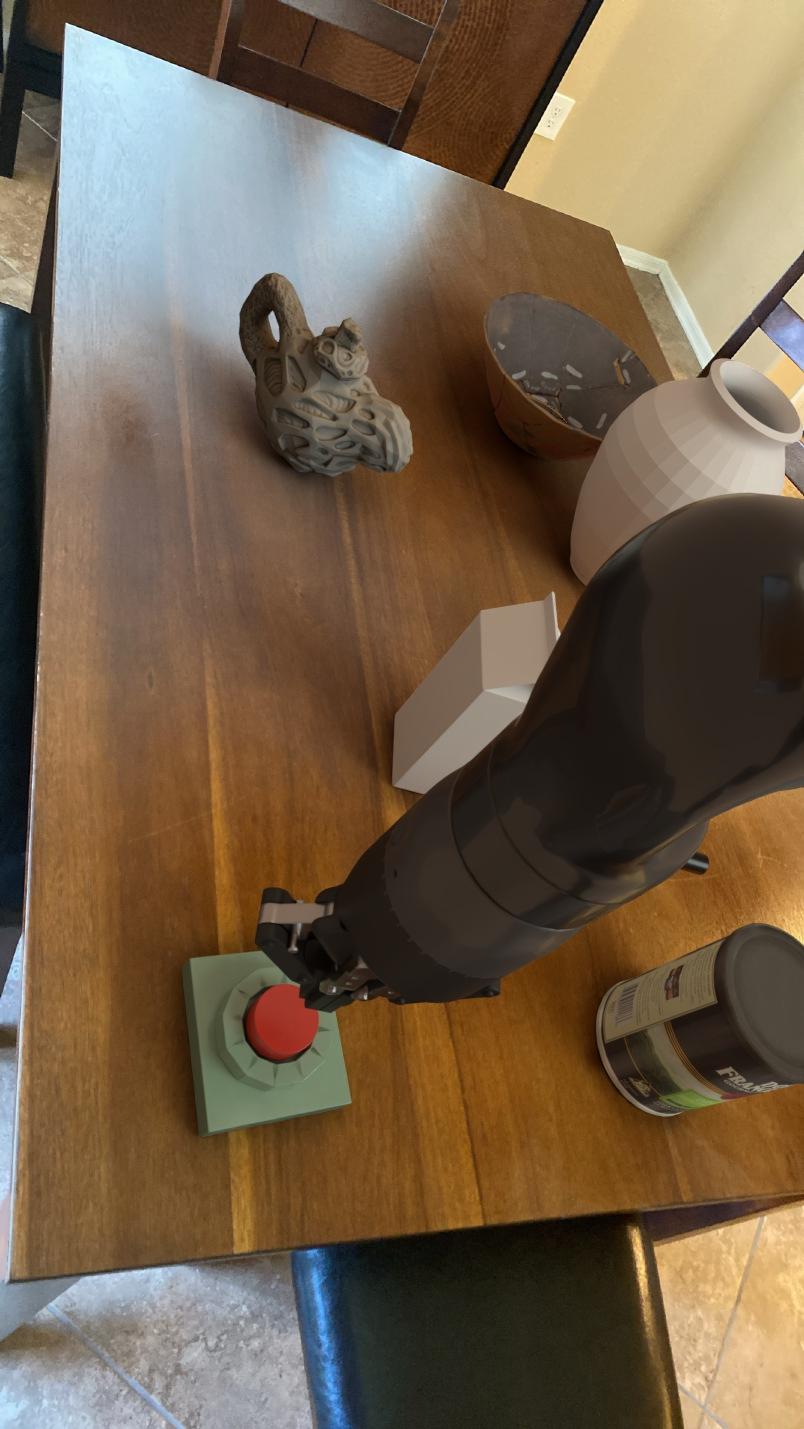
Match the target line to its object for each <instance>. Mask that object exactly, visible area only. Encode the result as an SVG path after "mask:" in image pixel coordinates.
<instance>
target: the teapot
mask: <svg viewBox="0 0 804 1429" xmlns="http://www.w3.org/2000/svg"><path fill="white" fill-rule="evenodd" d="M272 312H273V314H274V317H275V320H276V324H277V326H278V336H279V337H278V338H279V339H278V340H277V339H276V338H275V336H274V333H273V330H272V326H271V321H270V319H269V316H270V315H271V313H272ZM238 315H239V316H238V317H239V323H238V324H239V326H238V337H239V343H240V347H241V351H242V353H243V355H244V358H245V359H246V361H247V362H248V364H249V366H250V368H251V371H252V373H253V375H254V382H255V386H254V405H255V407H256V412H257V414H258V415H257V416H258V419H259V423H260V425H261V427H262V429H263V432H264V433H265V435H266V437H267V439H268V441H269V442H270V444H271V446H272V447H273V449H274V451H275V453H277V454H278V455H279V456H281V457H282V458H284V459H285V460H286V461H287V462H288V463H289V465H290V466H291V467H293V469H295V470H296V471H297V472H298V473H308V472H312V471H313V472H315V473H317V474H322V475H325V476H326V477H328V478H334V477H337V476H339V475H341V474H342V473H348V472H350V471H353V470H354V469H355V468H356V466H357V465H358V464H359V465H361V466H362V467H365V468H368V469H371V471H374V472H376V473H379V474H381V473H385V474H386V473H395V474H399V475H400V473H401V471H403V469H404V468H405V467H406V465H408V463H409V462H410V461H411V460H410V459H411V456H412V455H413V454H414V447H413V432H412V431H411V421H410V420H409V419H408V417H407V416H406V415H405V413H404V411H403V409H402V406H400V405H398V404H396V403H394V402H392V401H391V400H390V399H386V398H384V397H382V396H380V395H379V393H378V391H377V389H376V386H375V385H374V383H373V381H372V379H371V378H370V377H369V376H368V374H366V373H367V372H368V369H369V368H368V367H369V363H370V360H369V356H368V352H367V350H366V348H365V346H364V345H363V343H362V339H363V332H362V327H360V325H359V324H358V323H357V322H356V321H355V320H354V319H353V318H352V317H351V316H350V317H348V318H345V319H343V320H342V321H341V323H340V324H339V326H338V325H334V326H326V327H324V328H323V330H322V332H321V334H320V335H317V336H315V334H314V333H313V331H312V330H311V327H310V326H309V324H308V321H307V317H306V315H305V311H304V306H303V304H302V302H301V300H300V298H299V294H298V292H297V291H296V288H295V287H294V285H293V283H291V281H290V280H289V279H288V278H287V277H286V276H285V275H283V274H281V273H277V272H269V273H265V274H264V275H263V276H262V277H261V278H260V279H258V281H256V282H255V283H254V284H253V286H252V288H251V290H250V292H249V293H248V295H247V297H246V298H245V300H244V302H243V303H242V306H241V308H240V311H239V314H238Z"/></svg>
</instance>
